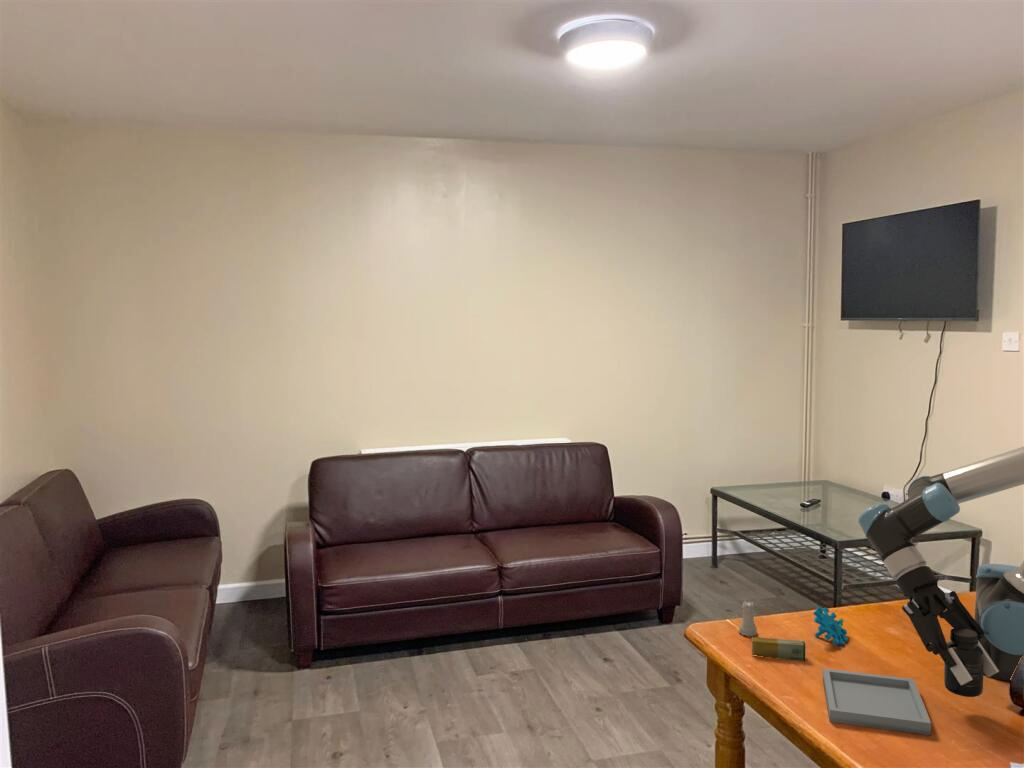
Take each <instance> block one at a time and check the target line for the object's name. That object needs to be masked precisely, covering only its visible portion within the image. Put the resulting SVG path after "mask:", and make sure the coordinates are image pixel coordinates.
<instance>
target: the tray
mask: <svg viewBox="0 0 1024 768" xmlns="http://www.w3.org/2000/svg"><path fill="white" fill-rule="evenodd" d="M822 683H823V690H824V695H825V696H824V697H825V702H826V708H827V715H828V720H829V723H836V724H841V725H842V724H843V725H849V726H857V727H864V728H865V727H866V728H871V729H878V730H879V729H880V730H885V731H886V730H888V731H894V732H902V733H910V734H916V735H924V736H931V735H932V721H931V719H930V716H929V714H928V711H927V709H926V706H925V704H924V701H923V699H922V697H921V694H920V692H919V689H918V687H917V684H916V682H915V678H908V677H900V676H899V677H898V676H890V675H883V674H882V675H881V674H875V673H874V674H873V673H866V672H857V671H848V670H841V669H840V670H839V669H832V668H822Z"/></svg>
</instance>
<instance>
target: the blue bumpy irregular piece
mask: <svg viewBox="0 0 1024 768" xmlns="http://www.w3.org/2000/svg"><path fill="white" fill-rule="evenodd" d="M829 612H830V609H829V608H828V607H824V608H823V607H822V606H818V607H816V610H814V611H813V615H814V616H815V617H814V618H813V621H814V623H816V624H818V625H819V626H817V630H818V631H816V632H815V633H814V636H815V638H819V637H820V636H822V635H823V634H825V633H826V634H825V635H824V638H825V639H826V640H827V641H830V640H831V639H832V638H833V639H832V640H831V643H832V644H833V645H834V646H838V645H839V646H840V647H842V646H845V645H846V642H847V641H848V640H849V638H848V637H847V636H846V635H848V630H847V629H845V628H843V626H844V623H845V621H844V619H843V618H839V619H837V620H836V618H837V614H836V613H835V612H831V613H830V614H829Z"/></svg>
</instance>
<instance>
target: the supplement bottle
mask: <svg viewBox="0 0 1024 768" xmlns="http://www.w3.org/2000/svg"><path fill="white" fill-rule="evenodd" d="M949 633H950V636H949V641H948V642H946V643H947V646H948V648H947V649H949V648H953V650H954V651H955V653H956V654H957V656H958V657H959V659H960V660H961V662H962V663H963V665H964V667H965V668H966V670H967V671H968V673H969V674H970V676H971V677H972V679H973V680H971V681H969V682H967V683H966V684H964V685H960V683H959V682H958V680H957V678H956V677H955V675H954V674H953V672H952V671H951V669H950V668H948V667H947V666H946V664H945V663H944V662H943V663H944V665H943V666H944V667H943V671H944V672H943V674H944V675H943V677H944V681H943V682H944V684H943V685H944V688H946V690H947V691H949V692H950V693H952V694H954V695H957V696H960V697H966V698H975V697H980V696H981V695H982V694H983V693H984V692H983V691H984V674H983V666H984V653H983V650H982V649H981V648H980V647H979V646H978V634H977V633H976V632H975V631H972V630H969V629H965V628H952V629H951V630H950V632H949Z"/></svg>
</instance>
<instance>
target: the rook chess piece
mask: <svg viewBox="0 0 1024 768" xmlns="http://www.w3.org/2000/svg"><path fill="white" fill-rule="evenodd" d="M741 607H742V609H743V610H742V621H741V622H740V624H739V626H738V628H739V629H738V632H739V634H740V633H741V634H743V635H746V636H745V637H747V636H752V637H755V636H756V635H757V634H758V628H757V625H756V622H755V618H754V614H755V611H754V609H755V608H756V606H755V603H754V601H750V600H748V601H747V600H744V601H743V604H742V605H741ZM741 634H740V635H741ZM743 635H742V636H743ZM754 635H755V636H754Z"/></svg>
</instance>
